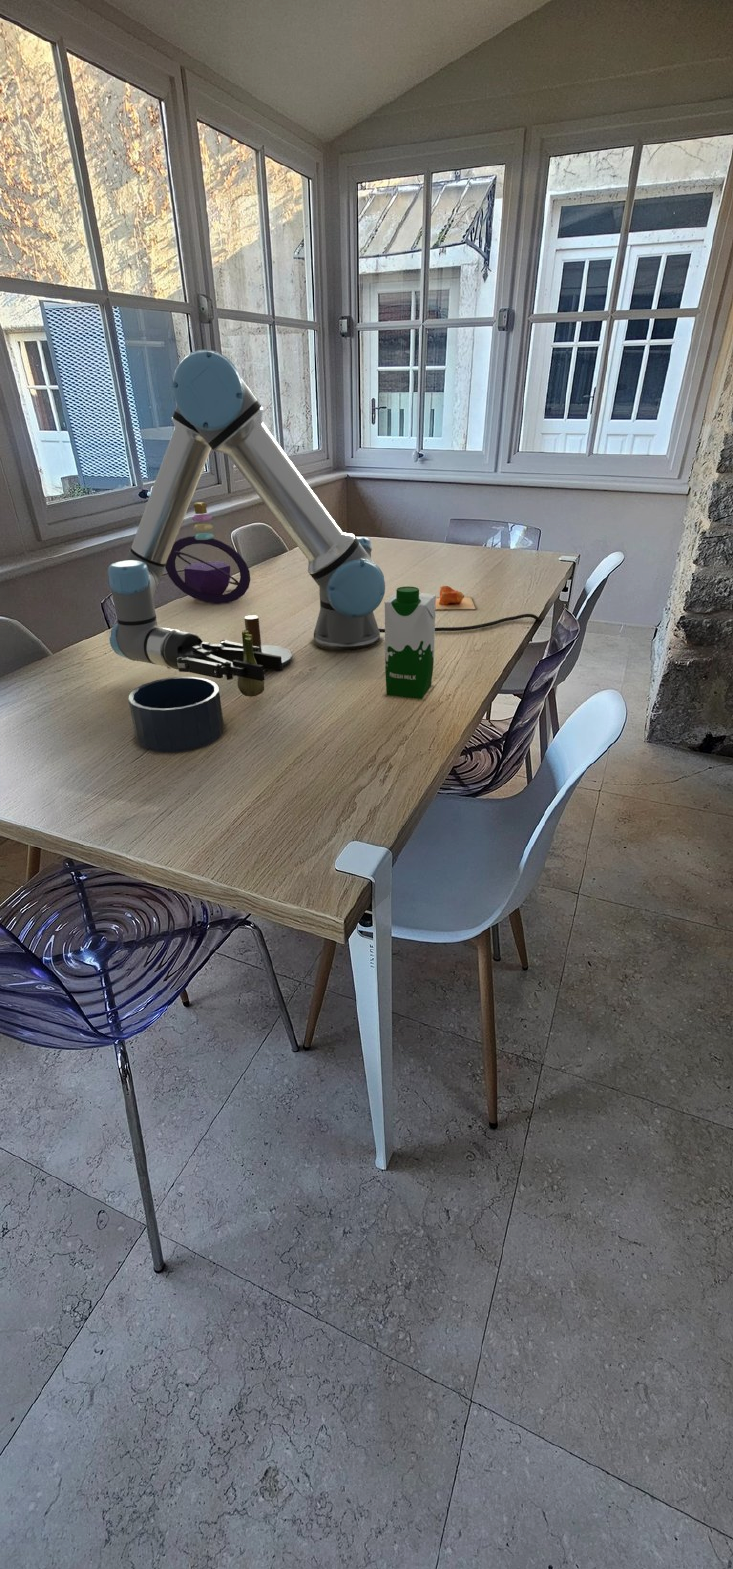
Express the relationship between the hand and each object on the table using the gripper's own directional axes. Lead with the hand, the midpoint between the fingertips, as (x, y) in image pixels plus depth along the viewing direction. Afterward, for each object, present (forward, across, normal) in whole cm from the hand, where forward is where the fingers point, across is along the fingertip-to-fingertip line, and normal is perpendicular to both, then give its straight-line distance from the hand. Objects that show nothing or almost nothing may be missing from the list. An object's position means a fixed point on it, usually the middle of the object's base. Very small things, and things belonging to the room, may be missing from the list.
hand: (271, 668), depth 127 cm
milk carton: (+19, -18, -7) cm, 27 cm away
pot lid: (-18, -17, -6) cm, 25 cm away
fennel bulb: (-5, 0, -6) cm, 8 cm away
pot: (-6, +18, -7) cm, 20 cm away
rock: (0, -78, -7) cm, 79 cm away
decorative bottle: (-63, -54, -7) cm, 84 cm away
